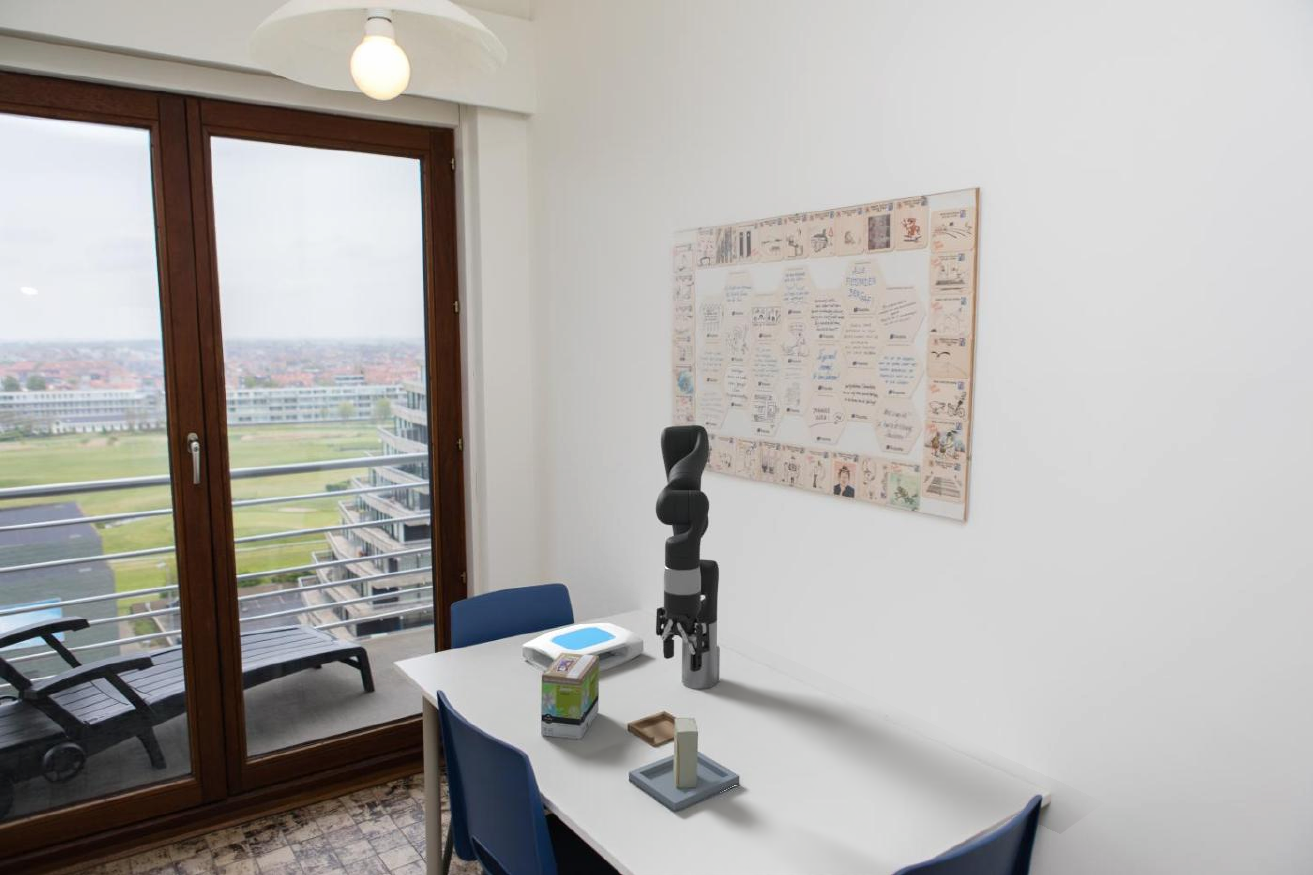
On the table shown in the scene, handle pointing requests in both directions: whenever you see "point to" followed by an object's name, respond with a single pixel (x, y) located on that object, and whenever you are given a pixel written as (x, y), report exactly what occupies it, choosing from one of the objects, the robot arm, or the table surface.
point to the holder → (654, 728)
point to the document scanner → (584, 644)
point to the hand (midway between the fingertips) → (682, 663)
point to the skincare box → (685, 752)
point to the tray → (663, 789)
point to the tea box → (569, 695)
